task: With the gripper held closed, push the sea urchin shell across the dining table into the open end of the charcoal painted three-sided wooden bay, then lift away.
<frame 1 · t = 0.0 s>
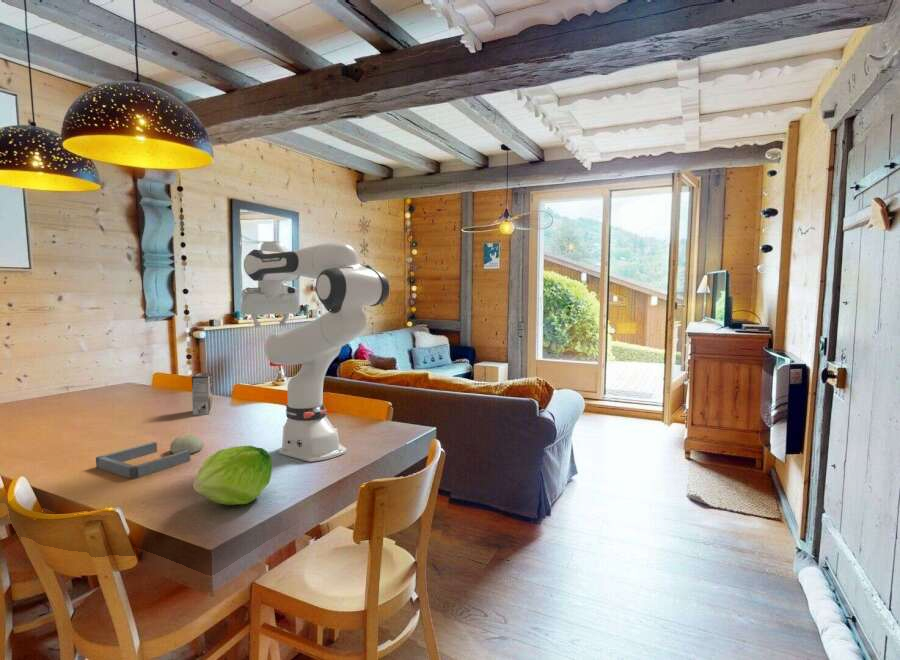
hand: (270, 326, 169), 39 cm above the table, fingers open, 8 cm apart
coffee box: (203, 412, 199), on the table
bay: (145, 463, 139), on the table
sea urchin shell: (187, 452, 151), on the table
lettuce: (233, 502, 115), on the table
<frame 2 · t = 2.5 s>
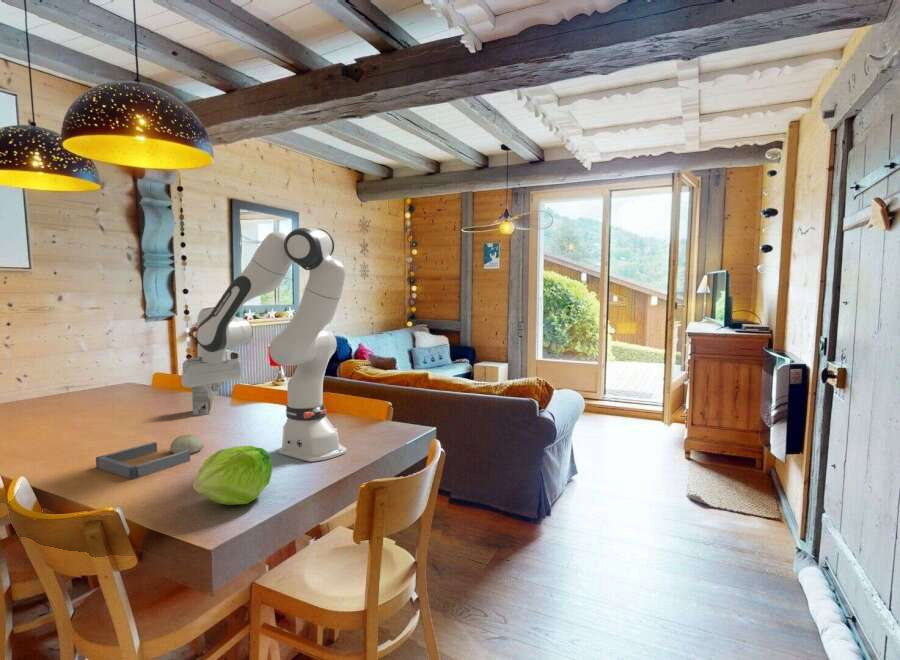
hand: (213, 396, 159), 16 cm above the table, fingers closed
nothing on the table moved.
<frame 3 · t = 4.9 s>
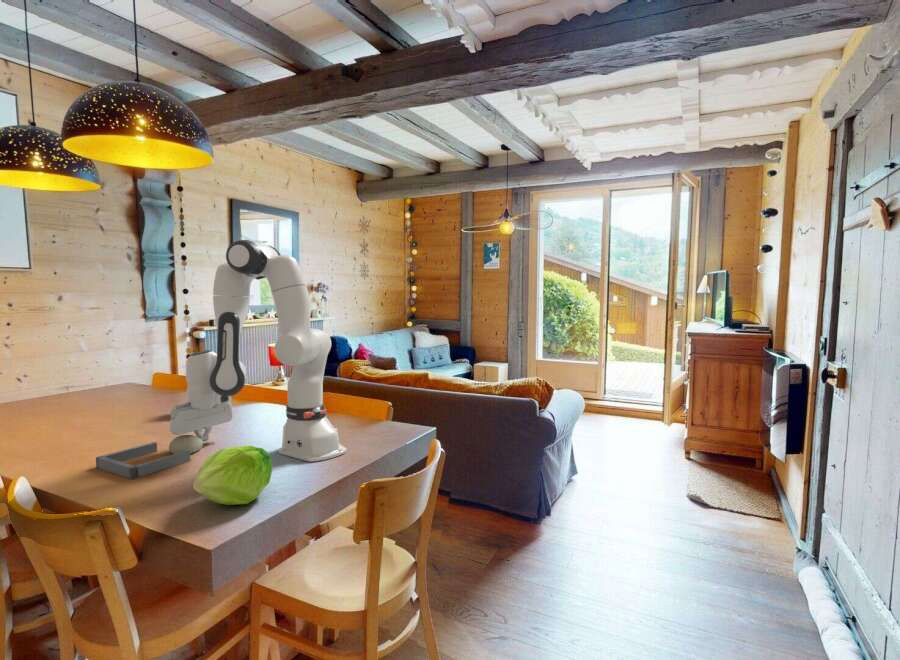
hand: (203, 441, 156), 2 cm above the table, fingers closed
sea urchin shell: (186, 452, 151), on the table, touching gripper
everything else where it was.
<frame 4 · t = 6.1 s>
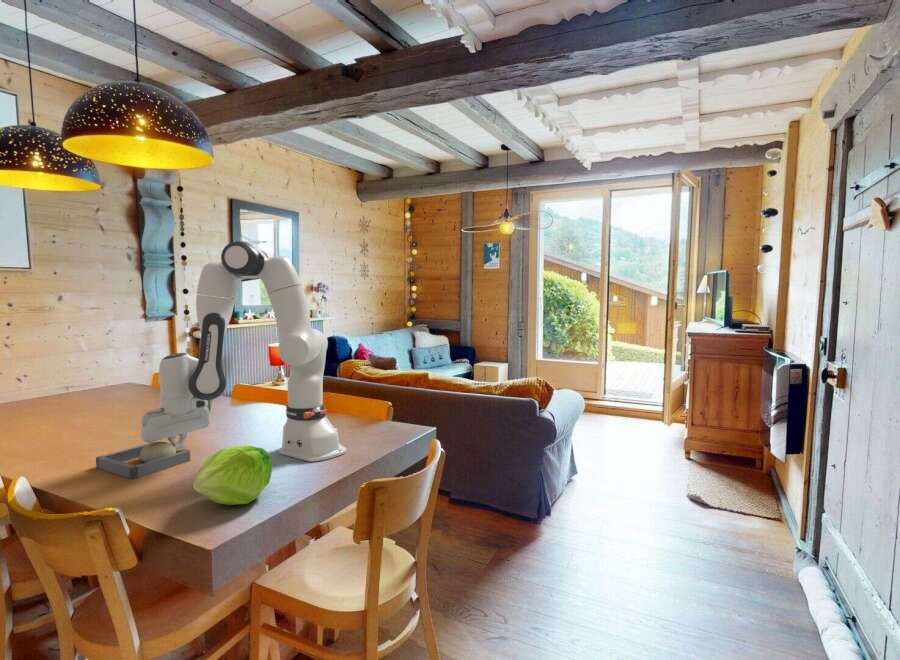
hand: (177, 448, 148), 2 cm above the table, fingers closed
sea urchin shell: (158, 459, 143), on the table, touching gripper
everything else where it was.
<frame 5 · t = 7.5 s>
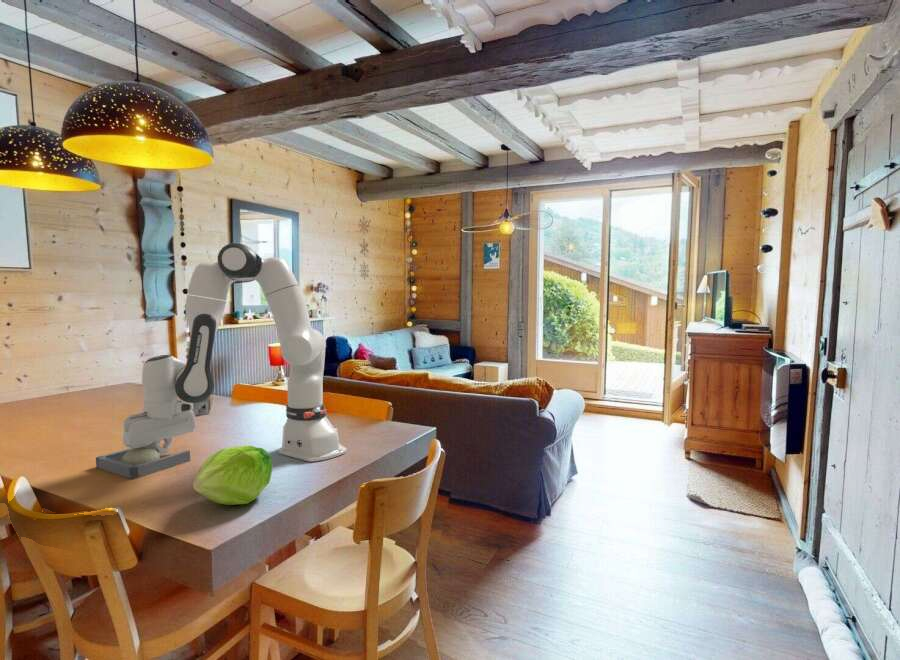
hand: (162, 453, 144), 2 cm above the table, fingers closed
sea urchin shell: (140, 465, 138), on the table, touching gripper
everything else where it was.
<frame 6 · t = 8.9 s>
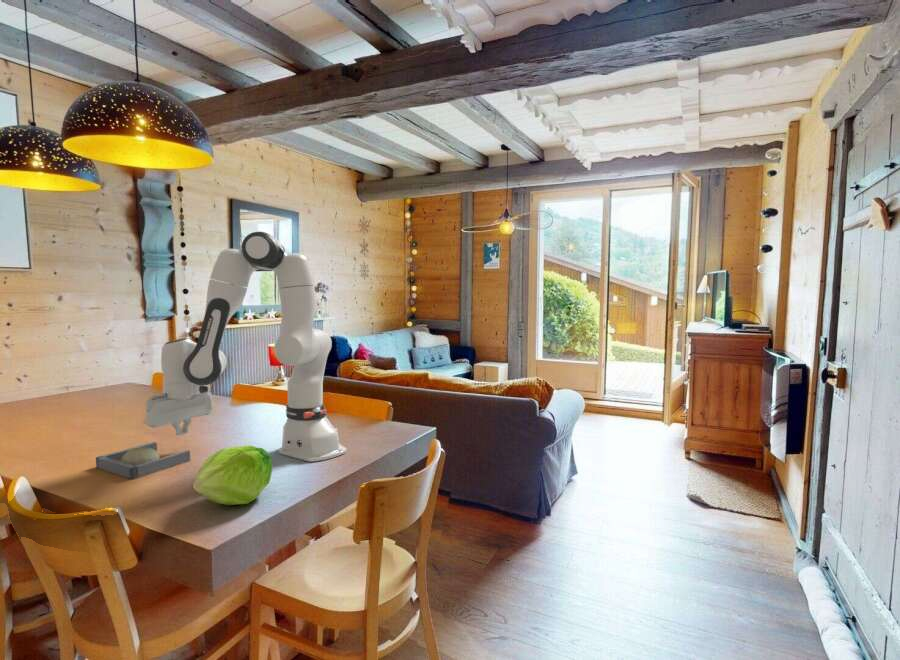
hand: (182, 434, 148), 6 cm above the table, fingers closed
sea urchin shell: (140, 466, 138), on the table
everything else where it was.
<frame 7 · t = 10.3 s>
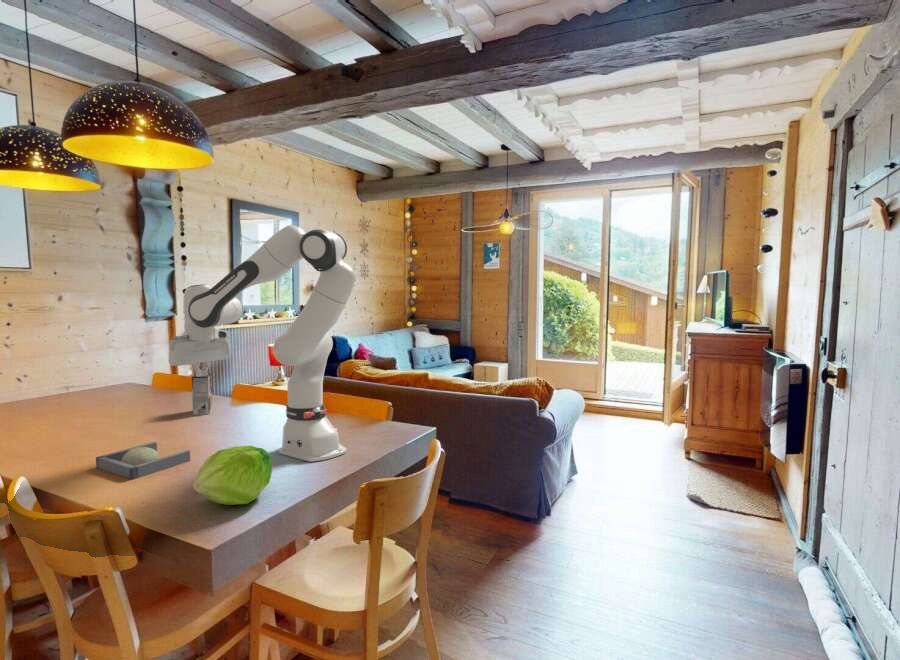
hand: (201, 375, 156), 23 cm above the table, fingers closed
nothing on the table moved.
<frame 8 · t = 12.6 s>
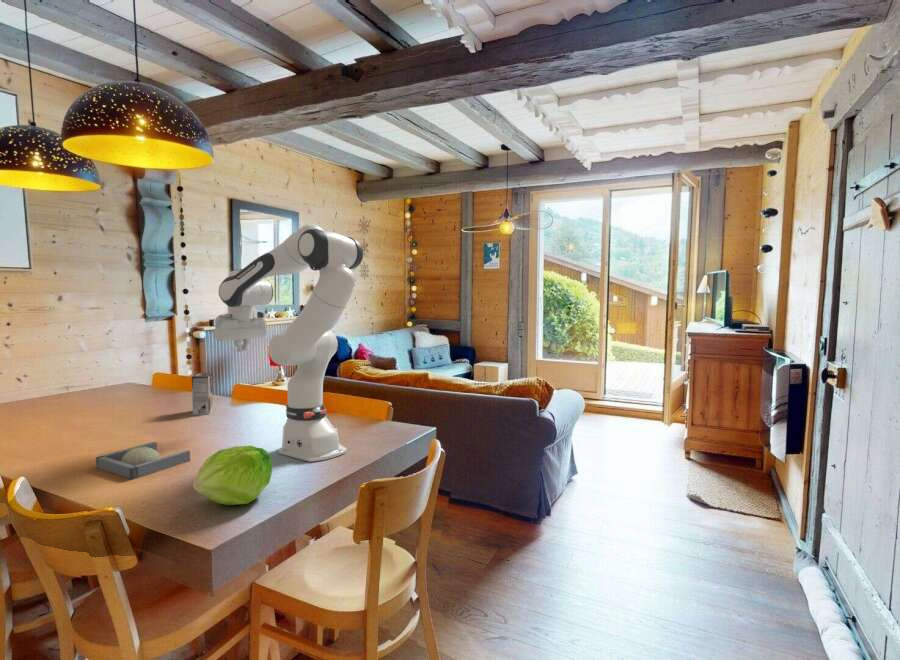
hand: (241, 351, 174), 29 cm above the table, fingers closed
nothing on the table moved.
at the end: sea urchin shell 1.1 cm from the bay (horizontally); sea urchin shell moved 14.2 cm from its start; the gripper is holding nothing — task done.
